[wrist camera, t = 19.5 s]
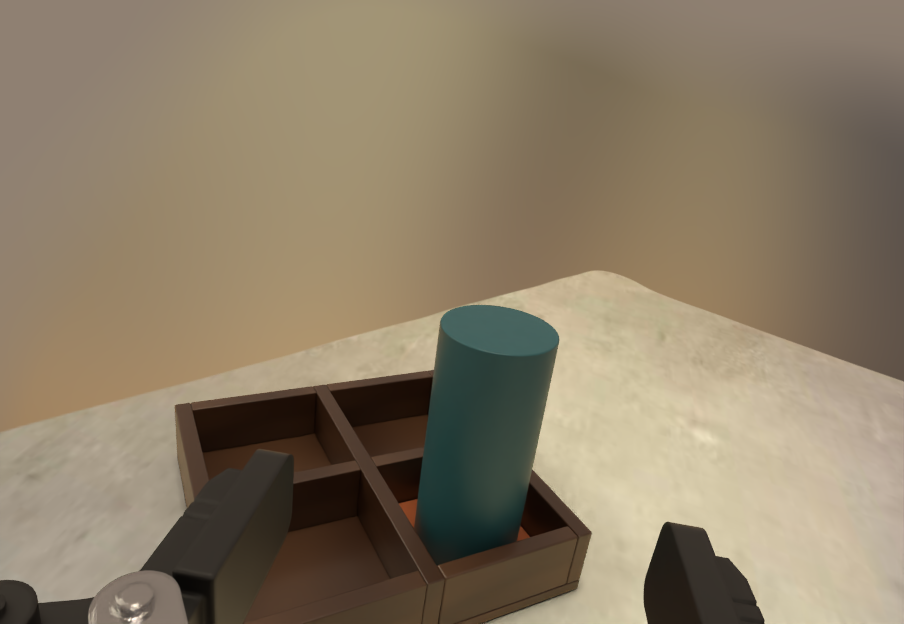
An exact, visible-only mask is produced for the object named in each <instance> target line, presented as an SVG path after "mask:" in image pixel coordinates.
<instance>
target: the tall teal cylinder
mask: <svg viewBox="0 0 904 624" xmlns="http://www.w3.org/2000/svg"><path fill="white" fill-rule="evenodd" d="M558 344H559V336H558V333H557V332H556V330H555V329H554V328H553V327H552V326H551V325H549V324H548V323H547V322H545V321H544V320H542V319H540V318H538V317H536V316H533V315H531V314H528V313H525V312H522V311H519V310H515V309H511V308H506V307H500V306H492V305H470V306H463V307H458V308H455V309H452V310H450V311H448V312H447V313H445V314H444V315H443V317H442V318H441V321H440V328H439V336H438V344H437V351H436V359H435V367H434V375H433V383H432V390H431V398H430V406H429V414H428V422H427V429H426V437H425V445H424V453H423V460H422V468H421V476H420V484H419V492H418V499H417V507H416V515H415V523H414V529H415V531H416V533H417V534H418V536H419V537H420V539H421V541H422V542H423V544H424V546H425V547H426V549H427V551H428V552H429V554H430V555H431V557H432V559H433V560H434V562H435V564H436V565H437V566H438V565H440V564H443V563H446V562H450V561H453V560H456V559H460V558H463V557H466V556H470V555H473V554H476V553H480V552H483V551H486V550H490V549H493V548H496V547H499V546H503V545H506V544H509V543H513V542H516V541H517V538H518V534H519V529H520V524H521V519H522V515H523V510H524V505H525V501H526V496H527V491H528V486H529V482H530V477H531V472H532V467H533V463H534V458H535V453H536V448H537V444H538V439H539V434H540V429H541V425H542V420H543V415H544V411H545V406H546V401H547V396H548V392H549V387H550V382H551V377H552V373H553V368H554V363H555V358H556V354H557V349H558Z"/></svg>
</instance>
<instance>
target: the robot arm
mask: <svg viewBox="0 0 904 624" xmlns="http://www.w3.org/2000/svg"><path fill="white" fill-rule="evenodd" d="M293 477H294V458H293V455H292V454H287V453H281V452H276V451H270V450H264V449H257V450H256V451H255V452H254V454H253V455H252V457H251V458H250V460H249V461H248V463H247V464H246V465H245V467H244V468H243V470H238V469H233V468H227V469H226V470H224V471H223V472H221V473H220V474H218V475H216V476H215V477H213V478H212V479H210V480H209V481H207V483H206V484H205V485H204V487H203V488H202V489H201V491H200V492H199V493H198V495H197V496H196V497H195V499H194V502H192V503H191V504H190V505H189V507H188V508H187V509H186V510H185V512H184V515H183V517H182V516H181V517H180V518H179V520H178V521H177V522H176V524H175V525H174V526H173V528H172V529H171V530H170V532H169V533H168V534H167V536H166V537H165V538H164V540H163V541H162V542H161V543H160V545H159V546H158V547H157V549H156V550H155V551H154V553H153V554H152V555H151V557H150V558H149V559H148V561H147V562H146V563H145V565H144V566H143V567H142V569H141V570H140V571H138V572H133V573H129V574H127V575H124V576H121V577H119V578H117V579H115V580H114V581H112V582H110V583H109V584H107V585H106V586H105V587H104V588H102V589H101V590H100V591H99V592H98V593H97V595H96V596H95V597H93V598H88V599H81V600H70V601H59V602H47V603H38V599H37V595H36V592H35V591H34V589H33V588H32V587H31V586H29V585H28V584H26V583H23V582H20V581H15V580H1V581H0V624H243V622H244V620H245V618H246V616H247V614H248V612H249V610H250V608H251V606H252V604H253V602H254V600H255V598H256V596H257V594H258V592H259V590H260V588H261V586H262V584H263V582H264V580H265V578H266V576H267V574H268V572H269V570H270V568H271V566H272V564H273V562H274V560H275V558H276V556H277V554H278V552H279V550H280V548H281V546H282V544H283V542H284V540H285V538H286V535H287V533H288V529H289V526H290V521H291V516H292V503H293ZM756 603H757V602H756V600H755V597H754V595H753V593H752V590H751V588H750V586H749V583H748V581H747V579H746V578H745V577H744V576H743V575H742V573H741V572H740V571H739V570H738V569H737V568H736V567H735V565H734V564H733V563H732V562H731V561H730V560H729V558H723V557H718V556H715V553H714V551H713V548H712V545H711V543H710V540H709V538H708V535H707V533H706V531H705V530H704V529H703V528H699V527H693V526H688V525H682V524H677V523H671V522H666V523H665V524H664V525H663V527H662V529H661V532H660V535H659V538H658V541H657V544H656V547H655V550H654V553H653V556H652V559H651V562H650V565H649V568H648V571H647V574H646V578H645V584H644V607H645V612H646V617H647V621H648V624H764V618H763V616H762V614H761V611H760V609H759V607H757V606H756Z"/></svg>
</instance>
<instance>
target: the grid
mask: <svg viewBox="0 0 904 624" xmlns="http://www.w3.org/2000/svg"><path fill="white" fill-rule="evenodd" d="M433 375H434V370H431V371H423V372H416V373H408V374H401V375H393V376H386V377H379V378H371V379H364V380H356V381H349V382H341V383H334V384H327V385H319V386H314V387H304V388H297V389H289V390H282V391H275V392H267V393H260V394H252V395H245V396H237V397H230V398H223V399H215V400H208V401H200V402H193V403H191V404H190V403H186V404H178V405H175V421H176V439H177V457H178V463H179V468H180V473H181V479H182V484H183V489H184V495H185V500H186V506H187V508H188V507H189V505H190V504H191V503H192V502H194V499H195V497H196V496H197V495H198V493H199V492H200V491H201V489H202V488H203V487H204V485H205V484H206V483H207V481H209V480H210V479H212V478H213V477H215V476H216V475H218V474H220V473H221V472H223V471H224V470H226V469H227V468H233V469H238V470H243V468H244V467H245V465H246V464H247V463H248V461H249V460H250V458H251V457H252V455H253V454H254V452H255V451H256V450H257V449H264V450H270V451H276V452H281V453H287V454H292V455H293V458H294V477H293V503H292V516H291V521H290V526H289V529H288V533H287V535H286V538H285V540H284V542H283V544H282V546H281V548H280V550H279V552H278V554H277V556H276V558H275V560H274V562H273V564H272V566H271V568H270V570H269V572H268V574H267V576H266V578H265V580H264V582H263V584H262V586H261V588H260V590H259V592H258V594H257V596H256V598H255V600H254V602H253V604H252V606H251V608H250V610H249V612H248V614H247V616H246V618H245V620H244V622H243V624H480V623H483V622H486V621H489V620H491V619H494V618H497V617H500V616H502V615H505V614H508V613H511V612H513V611H516V610H519V609H522V608H524V607H527V606H530V605H533V604H535V603H538V602H541V601H544V600H546V599H549V598H552V597H555V596H557V595H560V594H563V593H566V592H568V591H571V590H574V589H576V588H577V587H578V583H579V578H580V575H581V571H582V568H583V564H584V560H585V557H586V553H587V549H588V545H589V542H590V538H591V534H592V533H591V531H590V530H589V529H588V528H587V527H586V526H585V525H584V524H583V523H582V522H581V520H580V519H579V518H578V517H577V516H576V515H575V514H574V513H573V512H572V511H571V510H570V509H569V508H568V507H567V506H566V505H565V504H564V503H563V501H562V500H561V499H560V498H559V497H558V496H557V495H556V494H555V493H554V492H553V491H552V490H551V489H550V488H549V487H548V486H547V485H546V483H545V482H544V481H543V480H542V479H541V478H540V477H539V476H538V475H537V474H536V473H535V472H534V471H533V470H532V472H531V477H530V482H529V486H528V491H527V496H526V501H525V505H524V510H523V515H522V519H521V524H520V529H519V534H518V538H517V541H516V542H513V543H509V544H506V545H503V546H499V547H496V548H493V549H490V550H486V551H483V552H480V553H476V554H473V555H470V556H466V557H463V558H460V559H456V560H453V561H450V562H446V563H443V564H440V565H438V566H437V565H436V564H435V562H434V560H433V559H432V557H431V555H430V554H429V552H428V551H427V549H426V547H425V546H424V544H423V542H422V541H421V539H420V537H419V536H418V534H417V533H416V531H415V529H414V523H415V515H416V507H417V499H418V492H419V484H420V476H421V468H422V460H423V453H424V445H425V437H426V429H427V422H428V414H429V406H430V398H431V390H432V383H433Z"/></svg>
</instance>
